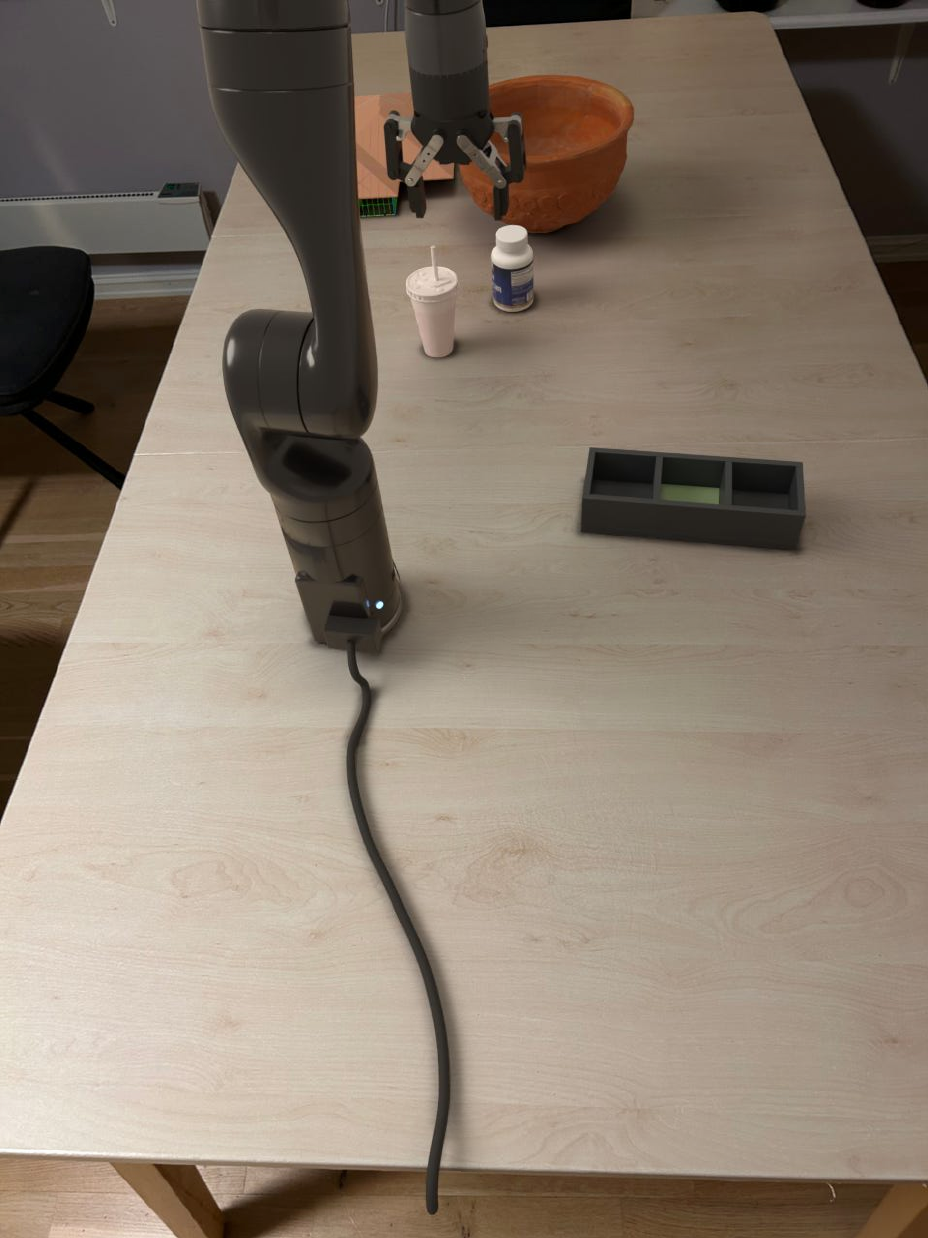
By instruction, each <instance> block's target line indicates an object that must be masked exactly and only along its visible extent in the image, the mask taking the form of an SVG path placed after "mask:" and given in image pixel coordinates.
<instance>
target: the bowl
mask: <svg viewBox="0 0 928 1238" xmlns="http://www.w3.org/2000/svg"><path fill="white" fill-rule="evenodd" d="M489 98H490V109H491V112H492V114H493V115H494V117H495V118H499V117H511V115H512V113H514V112H520V113H521V114H522V116H523V126H524V139H525V151H526V163H527V166H526V170H525V172H524V178H523V181H522V182H520V183H515V182H513V183H511V184H509V203H510V204H509V208H508V211H507V214H506V216H503V217H502V221H501V222H502V223H504V224H507V225H518V226H521V227H523V228H525V229H526V231H527V233H529V234H530V233H531V234H547V233H550V232H555V231H558V230H560V229H562V228H563V227H564V226H567V225H571V224H576V223H578V222H580V221H582V220H583V219H584V218H586V216H588V215H591V214H592V213H593V212H595V211H596V210H597V209H599V207H601V205H602V204H604V202H605V201H607V199H609V197H611V195H612V194H613V192H614V191H615V190H616V187H617V184H618V182H619V181H620V178H621V175H622V173H623V172H624V169H625V165H626V163H627V159H628V151H627V150H628V149H627V147H628V135H629V130H630V129H631V128H632V126H633V124H634V121H635V107H634V105H633V103H632V101H631V100H630V98H629V97H628V96H627V95H626V94H624V93H623V92H622V91H621V90H620V89H618V88H616V87H615V86H613V85H611V84H608V83H606V82H602V81H599V80H597V79H592V78H587V77H583V76H576V75H566V74H565V75H564V74H538V75H537V74H535V75H534V74H533V75H526V76H520V77H514V78H510V79H505V80H502V81H498V82H493V83H491V84H489ZM490 141H491V143H492V144H493V145H494V146H495V148H496V149H497V152H498V155H499V156H500V157H501V159H502V160H503V161H504V163H505V164H506V165H507V166H508V165H511V164H510V154H509V143H506V142H504V141H503V140H502V137H501V135H500V133H498V132H495V131H494V133H493V135H492V137H491V138H490ZM458 167H459V173H460V177H461V179H462V182H463V184H464V187H465V188H466V189H467V191H468V193H469V196H470V197H471V199H472V200H473V202H474V203H475V204H476V205H477V206H478V207H479V209H481V210H482V211H483V212H485V213H487V214H489V215H490V216H492V218H494V201H493V187H494V183H493V182H492V181H491V179H490V178H489V177H488V176H487V175H486V174H484V173H482V172H481V171H480V169H479V168H478V167H477V166H476V165H475V163H474V162H471V163H470V164H469V165H460V164H458Z"/></svg>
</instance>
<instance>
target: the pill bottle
mask: <svg viewBox="0 0 928 1238" xmlns="http://www.w3.org/2000/svg"><path fill="white" fill-rule="evenodd" d="M528 240H529V239H528V232H527V231H526V229H525V228H523V227H521V226H518V225H509V224H507V225H505V226H504V225H503V226H502V227H499V228H498V229H497V231H496V232H495V246H494V247H493V249H492V251H491V253H490V263H491V285H492V300H493V304H494V306H495V307H496V308H498V309H499V310H500V311H504V312H507V313H517V312H521V311H524V310H527V309H528V308H529V307H530V306H531V305H533V302H534V296H535V295H534V294H535V293H534V290H535V289H534V288H535V287H534V286H535V285H534V284H535V283H534V251H533V249H532V247H531V246H530V245H529V244H528Z"/></svg>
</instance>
